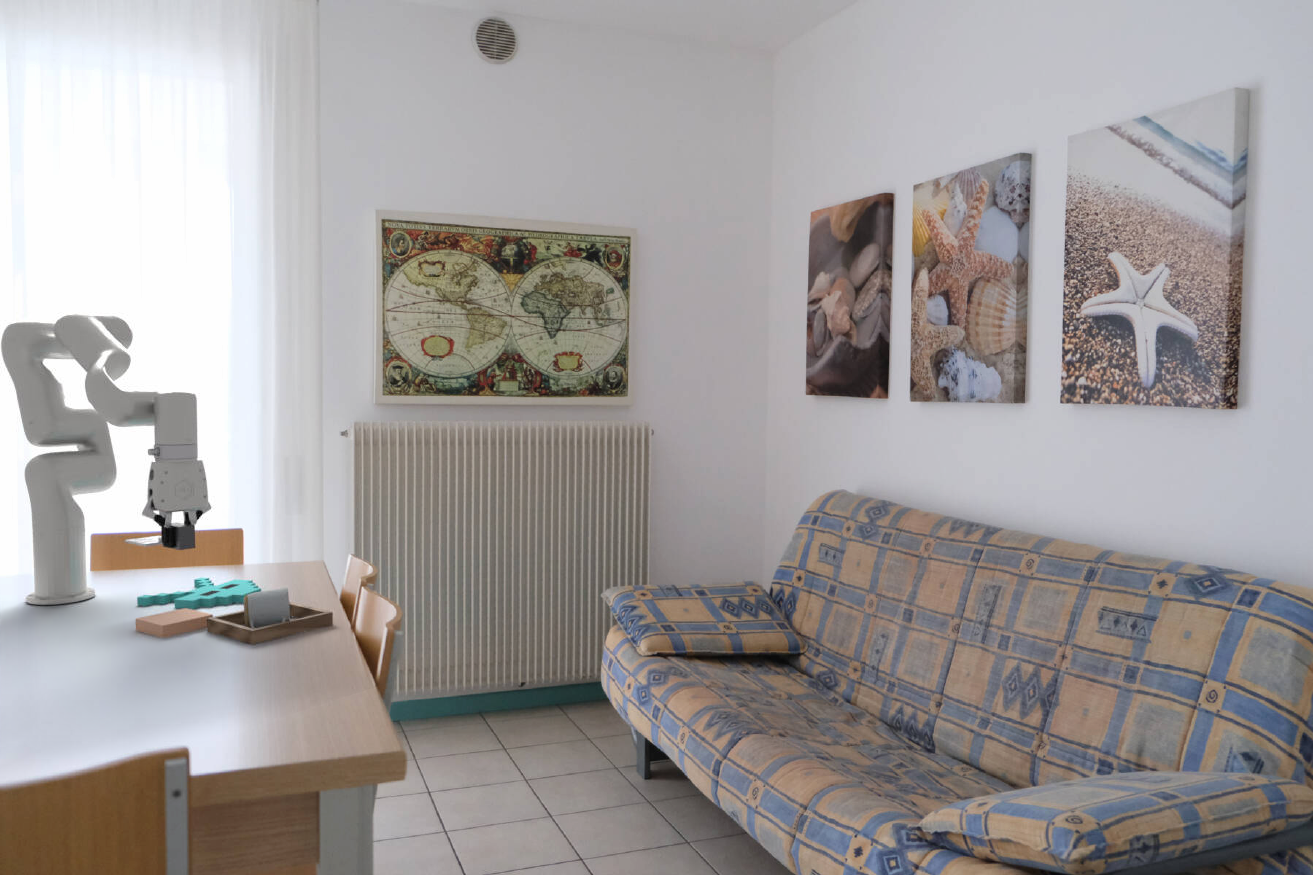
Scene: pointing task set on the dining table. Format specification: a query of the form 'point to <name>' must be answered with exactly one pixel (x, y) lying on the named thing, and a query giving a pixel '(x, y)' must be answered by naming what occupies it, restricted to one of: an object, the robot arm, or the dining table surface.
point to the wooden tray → (233, 624)
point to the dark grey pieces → (182, 537)
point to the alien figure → (204, 594)
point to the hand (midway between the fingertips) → (178, 544)
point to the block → (172, 622)
